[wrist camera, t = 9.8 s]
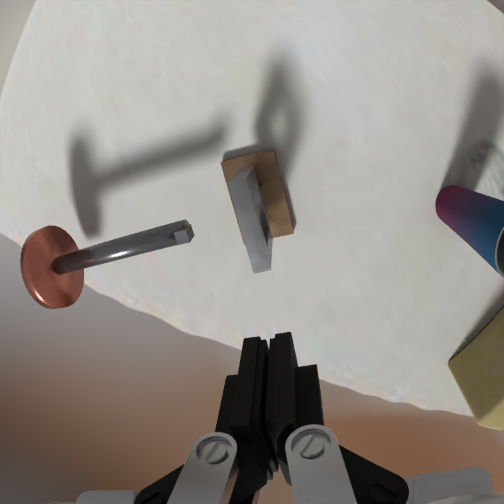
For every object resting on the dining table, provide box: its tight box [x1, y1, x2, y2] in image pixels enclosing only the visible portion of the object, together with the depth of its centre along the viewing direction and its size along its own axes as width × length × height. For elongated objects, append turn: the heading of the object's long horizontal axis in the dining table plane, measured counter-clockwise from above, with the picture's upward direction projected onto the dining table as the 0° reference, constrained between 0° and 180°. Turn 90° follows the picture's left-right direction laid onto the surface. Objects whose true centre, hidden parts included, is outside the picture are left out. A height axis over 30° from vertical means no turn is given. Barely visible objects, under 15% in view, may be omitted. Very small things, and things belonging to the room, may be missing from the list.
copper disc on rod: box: [20, 220, 194, 309], centre depth 33 cm, size 10×21×10 cm, turn 105°
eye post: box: [221, 148, 294, 273], centre depth 32 cm, size 10×6×12 cm, turn 15°
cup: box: [436, 185, 504, 278], centre depth 28 cm, size 7×7×15 cm
